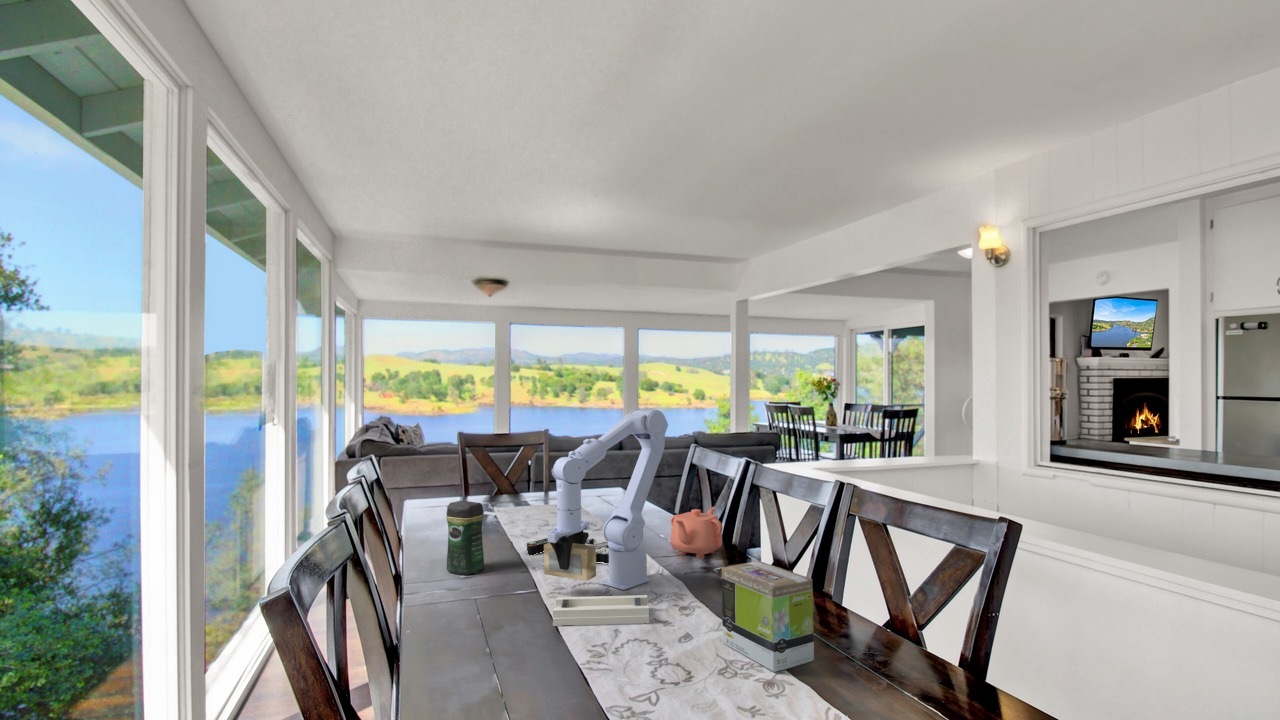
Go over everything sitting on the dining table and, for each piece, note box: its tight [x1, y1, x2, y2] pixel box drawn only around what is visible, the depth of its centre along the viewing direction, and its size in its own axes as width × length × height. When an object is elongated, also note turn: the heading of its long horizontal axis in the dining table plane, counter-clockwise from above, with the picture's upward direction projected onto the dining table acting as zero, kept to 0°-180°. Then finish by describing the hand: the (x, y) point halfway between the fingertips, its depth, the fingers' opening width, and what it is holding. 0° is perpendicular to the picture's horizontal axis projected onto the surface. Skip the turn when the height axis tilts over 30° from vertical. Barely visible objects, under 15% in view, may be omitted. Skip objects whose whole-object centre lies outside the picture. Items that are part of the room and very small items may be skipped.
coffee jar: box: [446, 500, 485, 575], centre depth 172 cm, size 10×8×19 cm
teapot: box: [670, 506, 724, 559], centre depth 186 cm, size 15×17×13 cm
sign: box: [526, 537, 609, 563], centre depth 185 cm, size 19×3×30 cm
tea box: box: [721, 560, 815, 673], centre depth 118 cm, size 15×10×15 cm, turn 30°
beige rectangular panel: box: [543, 542, 597, 582], centre depth 150 cm, size 4×12×7 cm, turn 62°
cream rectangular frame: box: [552, 594, 650, 627], centre depth 137 cm, size 20×9×3 cm, turn 92°
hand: (569, 566), depth 150 cm, fingers closed on beige rectangular panel, 4 cm apart
